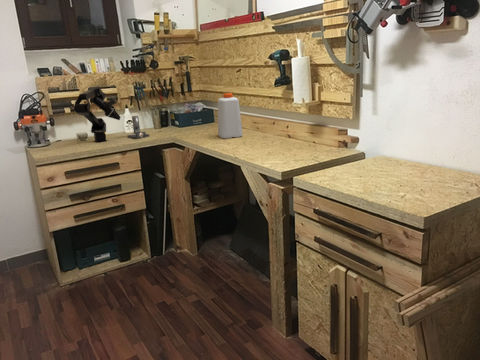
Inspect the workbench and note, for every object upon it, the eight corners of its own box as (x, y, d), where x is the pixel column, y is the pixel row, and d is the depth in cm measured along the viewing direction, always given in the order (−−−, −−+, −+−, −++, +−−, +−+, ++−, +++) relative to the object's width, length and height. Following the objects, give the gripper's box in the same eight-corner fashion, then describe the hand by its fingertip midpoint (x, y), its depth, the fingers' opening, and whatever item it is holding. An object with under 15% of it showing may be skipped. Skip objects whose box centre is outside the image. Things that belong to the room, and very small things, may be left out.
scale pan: (135, 136, 273) (135, 134, 273) (129, 134, 279) (129, 133, 279) (145, 134, 279) (145, 132, 278) (139, 132, 284) (139, 131, 284)
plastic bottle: (238, 133, 274) (236, 92, 265) (244, 137, 260) (242, 93, 251) (217, 135, 270) (214, 93, 262) (221, 139, 256) (219, 95, 248)
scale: (136, 139, 270) (135, 133, 269) (127, 137, 279) (126, 131, 278) (150, 136, 277) (149, 130, 276) (141, 134, 286) (140, 129, 285)
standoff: (135, 134, 276) (133, 116, 272) (132, 133, 279) (130, 116, 275) (141, 133, 278) (139, 116, 275) (138, 132, 281) (136, 115, 278)
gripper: (107, 95, 258) (127, 111, 264) (109, 93, 276) (127, 108, 282) (96, 108, 259) (116, 124, 265) (99, 105, 277) (117, 120, 282)
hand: (120, 118), depth 273 cm, fingers open, 9 cm apart
